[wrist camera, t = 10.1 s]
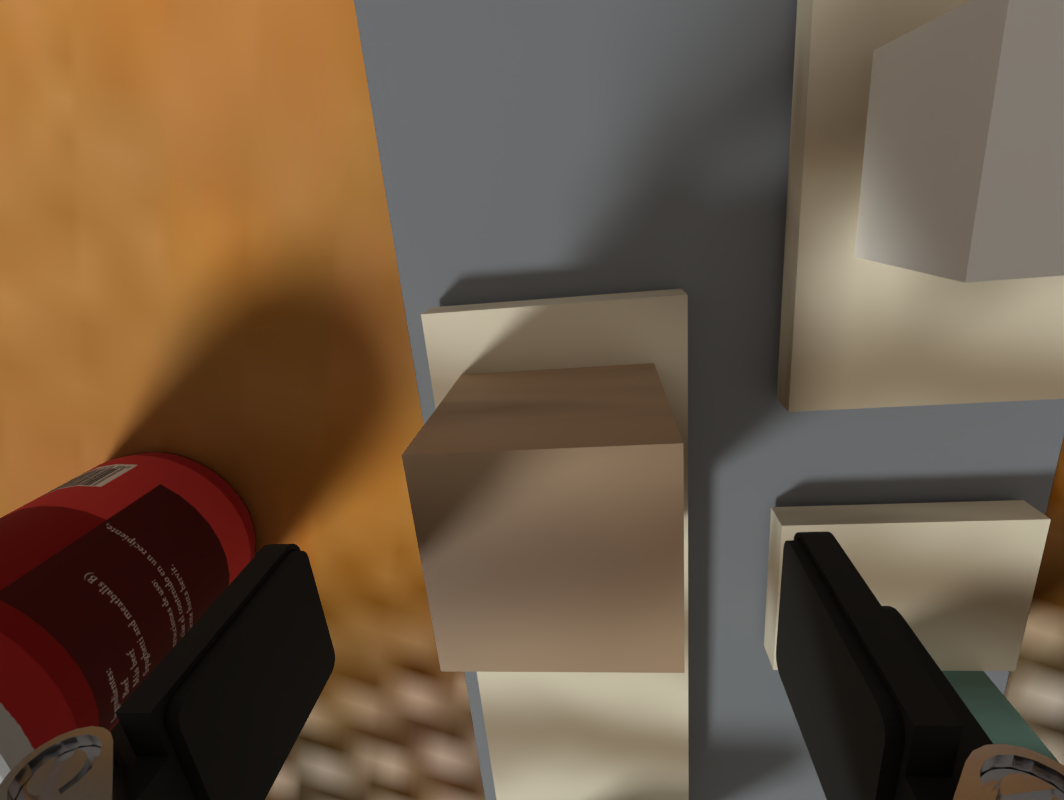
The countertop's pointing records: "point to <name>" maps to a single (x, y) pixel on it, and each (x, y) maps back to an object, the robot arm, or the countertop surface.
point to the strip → (662, 698)
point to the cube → (552, 522)
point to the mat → (660, 264)
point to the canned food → (107, 589)
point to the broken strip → (905, 374)
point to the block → (968, 145)
